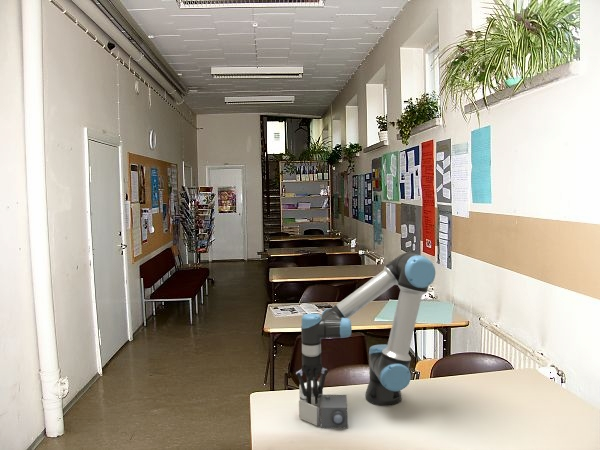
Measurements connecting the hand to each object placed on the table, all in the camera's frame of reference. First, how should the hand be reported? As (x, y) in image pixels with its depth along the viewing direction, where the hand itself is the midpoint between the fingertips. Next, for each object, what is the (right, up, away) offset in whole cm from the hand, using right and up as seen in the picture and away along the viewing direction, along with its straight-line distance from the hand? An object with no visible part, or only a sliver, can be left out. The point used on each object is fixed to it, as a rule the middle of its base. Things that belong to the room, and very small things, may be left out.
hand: (312, 411), depth 201 cm
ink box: (0, -2, +5) cm, 6 cm away
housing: (+8, -3, -3) cm, 9 cm away
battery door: (-1, -2, -4) cm, 5 cm away
